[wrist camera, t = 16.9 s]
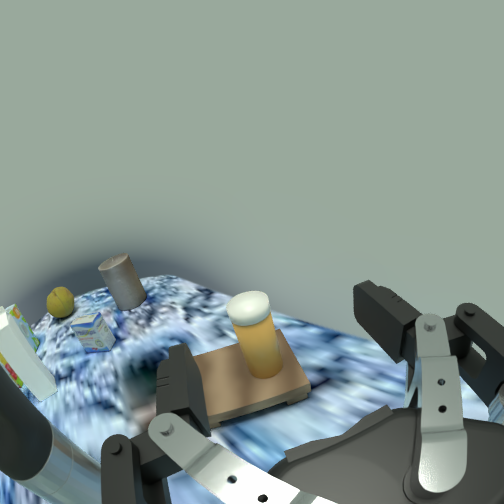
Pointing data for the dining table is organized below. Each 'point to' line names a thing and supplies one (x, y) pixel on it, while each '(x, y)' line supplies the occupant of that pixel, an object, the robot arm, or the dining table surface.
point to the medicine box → (93, 332)
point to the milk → (24, 358)
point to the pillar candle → (123, 282)
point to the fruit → (60, 302)
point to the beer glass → (256, 333)
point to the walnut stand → (247, 383)
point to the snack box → (29, 337)
